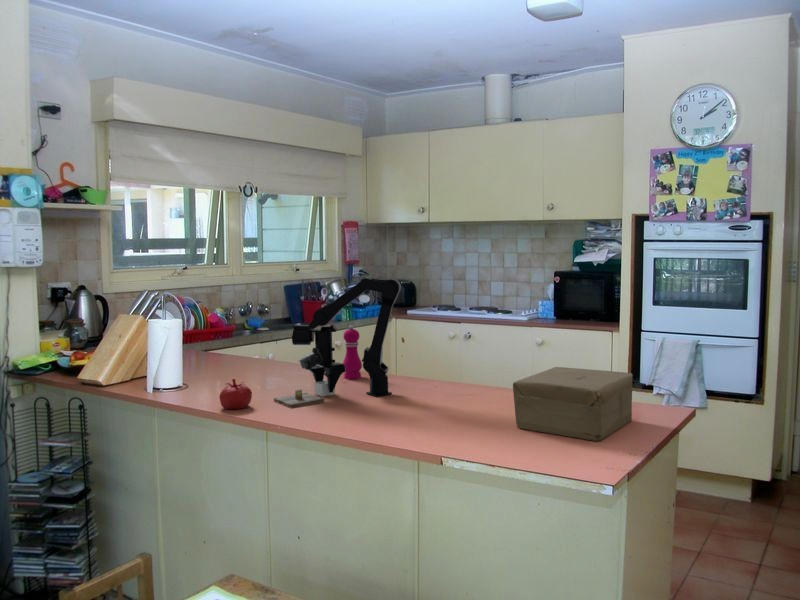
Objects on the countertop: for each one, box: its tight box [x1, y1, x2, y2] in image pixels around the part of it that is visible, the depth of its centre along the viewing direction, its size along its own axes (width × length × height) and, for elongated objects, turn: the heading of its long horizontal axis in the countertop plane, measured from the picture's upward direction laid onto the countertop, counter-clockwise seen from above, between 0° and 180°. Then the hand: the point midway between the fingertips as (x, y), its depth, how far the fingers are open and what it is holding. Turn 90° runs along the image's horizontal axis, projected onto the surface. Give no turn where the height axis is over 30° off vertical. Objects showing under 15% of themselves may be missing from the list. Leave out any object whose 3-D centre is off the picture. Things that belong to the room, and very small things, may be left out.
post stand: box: [273, 389, 325, 408], centre depth 230 cm, size 12×12×4 cm
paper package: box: [512, 366, 634, 442], centre depth 196 cm, size 27×26×14 cm
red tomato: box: [218, 378, 253, 410], centre depth 224 cm, size 10×10×9 cm
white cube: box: [314, 380, 336, 397], centre depth 240 cm, size 5×5×4 cm
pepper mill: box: [342, 324, 363, 380], centre depth 267 cm, size 7×7×20 cm
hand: (325, 390), depth 240 cm, fingers open, 8 cm apart
